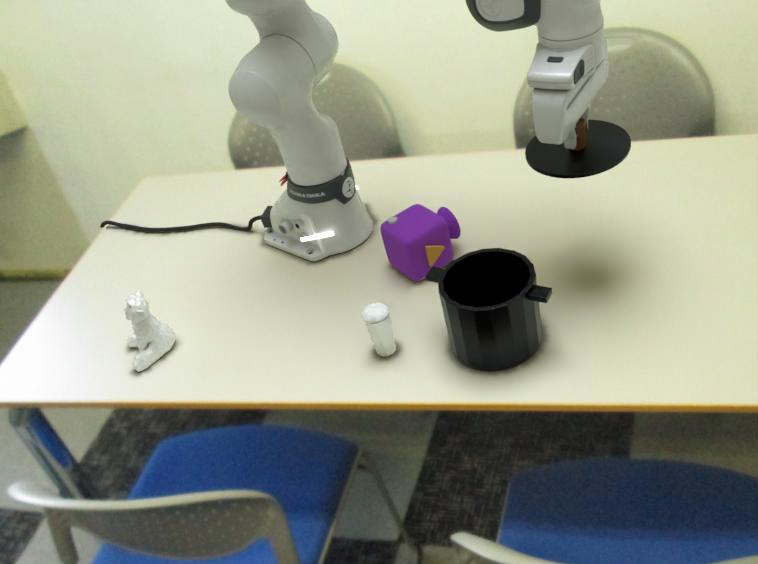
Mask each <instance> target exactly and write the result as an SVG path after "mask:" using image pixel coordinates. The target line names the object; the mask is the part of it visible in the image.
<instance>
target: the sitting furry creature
mask: <svg viewBox="0 0 758 564" xmlns="http://www.w3.org/2000/svg"><path fill="white" fill-rule="evenodd" d="M125 302H126V307H124V309H123V311H124V314H125V319H126V320H127V321H130V322H131V325H132V326H131V328H132V331H133V333H132V334H130V335H128V336H127V339H126V343H127V346H128V347H129V348H138V353H137V354H136V355H135V356H134V359H133V360H132V361H131V365H132V368H133V369H134V370H135V371H137V372H138V373H140V372H142V371H145V370H146V369H149V367H150V366H151V365H153V364H154V363H155V362H157V361H158V360H159V359H160V358H162V357H163V356H164V355H165V354H167V353H168V352H170V351H171V350H172V348H173V347H174V344H175V342H176V340H175V339H176V333H175V331H174V330H173V328H172V327H171V325H169V323H165V322H162V321H161V320H158V319H157V317H156V316H155V314H153V313H151V312H150V305H149V301H148V300H147V299H146V298H145V295H144V293H143V291H141V290H139V289H138V290H137V291H136V292H135V294H130V295H128V296H127V298H126V299H125Z"/></svg>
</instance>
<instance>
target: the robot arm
mask: <svg viewBox="0 0 758 564" xmlns="http://www.w3.org/2000/svg"><path fill="white" fill-rule="evenodd" d="M224 1H225V3H226V5H227V6H228V7H229V8H230V9H231V10H232V11H234V12H235V13H237V14H240V15H244V16H245V17H248V18H249V20H250V21H251V23H252V24H253V26H254V27H255V29H256V31H257V33H258V36H259V37H258V38H259V42H258V43H257V44H256V45H255V46H254V47H253V48H252V49H251V50H250V51H249V52H247V53H246V54H245V55H244V56H243V57H242V58H241V60H240V61H239V62H238V64H237V66H236V68H235V69H234V71H233V73H232V74H231V77H230V79H229V81H228V86H227V87H228V88H227V89H228V97H229V100H230V102H231V103H232V105H233V107H234V109H235V110H236V111H237V113H238V114H239V115H240V116H241V117H242V118H244V120H246V121H247V122H249V123H251V124H253V125H255V126H258V127H259V126H260V127H263V128H264V129H265V130H266V131H267V132H268V133H269V135H270V136H271V137H272V138H273V139H274V142H275V144H276V146H277V148H278V150H279V153H280V156H281V158H282V161H283V163H284V167H285V169H286V171H285V174H284V175H283V176H282V177H281V178H280V179H279V181H278V182H279V183H280V187H282V186H283V185H284V184H285V183H286V189H285V191H283V193H282V194H281V195H280V196H279V197H278V198H277V200H276V201H275V202H274V203H273V204H272V205H267V206H266V207H265V209H264V211H263V213H262V214H260V215H256V216H253V217H251V218H250V219H249V220H248V225H247V226H237V225H234V224H231V223H227V222H220V221H216V222H215V221H214V222H213V221H212V222H204V223H203V222H202V223H198V224H190V225H181V226H170V227H169V226H168V227H146V226H139V225H134V224H129V223H123V222H122V223H121V222H117V221H114V220H104V221H102V222H101V223H100V226H99V228H100V229H102V228H104V227H105V226H107V225H109V226H110V225H111V226H115V227H118V228H125V229H131V230H136V231H139V232H148V233H149V232H150V233H165V232H179V231H189V230H190V231H191V230H197V229H203V228H204V229H205V228H210V227H222V228H228V229H231V230H234V231H239V232H249V231H251V230H252V228H253V224H254V223H255V222H256V221H261V223H262V227H263V228H265V229H266V230H265V233H264V236H263V240H264V243H265V244H266V245H268V246H271V247H274V248H275V249H276V248H277V249H279V250H282V251H284V252H287V253H289V254H292V255H294V256H297V257H299V258H302V259H304V260H307V261H310V262H318V261H321V260H323V259H325V258H327V257H329V256H333V255H337V254H342V253H345V252H347V251H351V250H353V249H354V248H356V247H358V246H360V245H361V244H362V243H363V242H365V241H366V240H367V239H368V238H369V237H370V236H371V234H372V232H373V230H374V221H373V218H372V217H371V216H370V214H369V212H368V211H367V207H366V205H365V202H363V200H362V198H361V196H360V193H359V191H358V190H359V189H360V187H359V185H356V181H355V175H354V172H353V169H352V164H351V163H350V162H351V161H350V160H349V158H347V156H346V153H345V149H344V146H343V143H342V138H341V135H340V131H339V128H338V125H337V124H336V122H335V121H334V119H333V118H331V117H330V116H328V115H326V114H324V113H321V112H319V111H318V110H317V108H316V107H315V105H314V101H313V95H312V94H313V90H314V89H315V87H317V85H318V84H319V83H320V82H321V81H322V80H323V79H324V78H325V76H327V75H328V73H329V72H330V70H331V69H332V66H333V64H334V62H335V59H336V57H337V54H338V52H339V47H340V46H339V45H340V43H339V37H338V34H337V31H336V29H335V27H334V26H333V24H332V23H331V22H330V21H329V20H328V19H327V18H326V17H325V16H324V15H323V14H321V13H319V12H317V11H315V10H313V9H312V8H311V6H309V4H308V3H307V2H306V0H224ZM465 4H466V7H467V10H468V11H469V13H470V15H471V16H472V17H473V19H474V21H476V23H478V24H479V25H480V26H481V27H483V28H485V29H486V30H489V31H492V32H497V33H501V32H508V31H509V32H510V31H516V30H521V29H526V28H529V27H531V26H535V27H536V31H537V43H536V47H535V52H534V56H533V59H532V62H531V64H530V65H529V68H528V71H527V74H526V82H527V86H528V88H533V89H532V94H531V108H532V118H533V124H534V131H535V136H537V138H538V140H539V141H540V142H541V143H546V144H562V143H563V142H564V147H565V148H566V149H575V148H576V146H577V144H578V143H579V140H578V139H579V134H578V133H576V132H575V128H576V123H577V122H578V121H579V119H580V118H583V119H584V120H585V132H586V131H587V130H588V120H590V119H589V118H590V113H591V109H592V102H593V101H594V99H595V98H596V97H597V95H598V93H599V92H600V91H601V89H602V88H603V86H604V85H605V84H606V82H607V81H608V77H609V72H610V65H609V62H610V61H609V51H608V42H607V38H606V36H605V22H604V21H605V19H604V15H603V12H602V7H601V0H465Z"/></svg>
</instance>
